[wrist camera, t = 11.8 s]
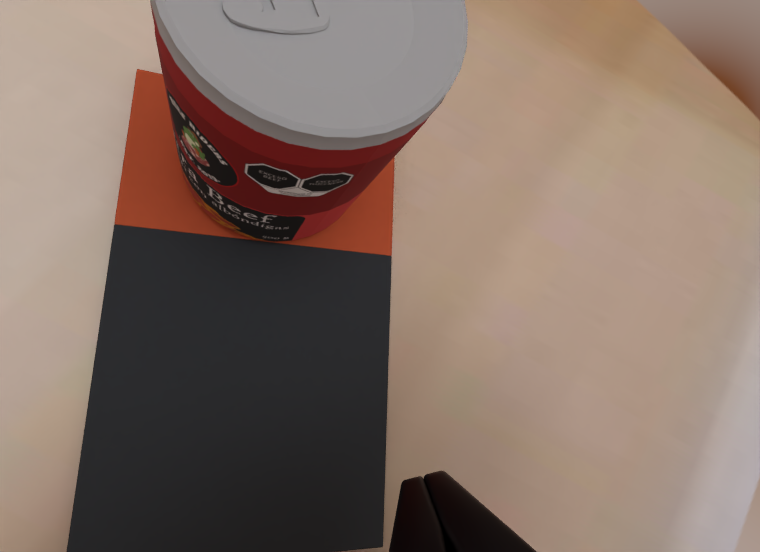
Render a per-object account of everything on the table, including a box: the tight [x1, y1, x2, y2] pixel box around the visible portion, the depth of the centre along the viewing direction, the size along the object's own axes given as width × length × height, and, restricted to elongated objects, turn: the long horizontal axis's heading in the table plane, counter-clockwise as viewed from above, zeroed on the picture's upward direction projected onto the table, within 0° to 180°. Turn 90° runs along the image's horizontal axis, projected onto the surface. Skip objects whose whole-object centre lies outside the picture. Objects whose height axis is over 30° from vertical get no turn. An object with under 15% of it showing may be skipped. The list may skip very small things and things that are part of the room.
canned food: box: [150, 0, 468, 242], centre depth 16 cm, size 8×8×11 cm
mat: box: [67, 224, 391, 552], centre depth 20 cm, size 13×12×1 cm
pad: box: [115, 69, 394, 256], centre depth 22 cm, size 7×12×1 cm, turn 88°
